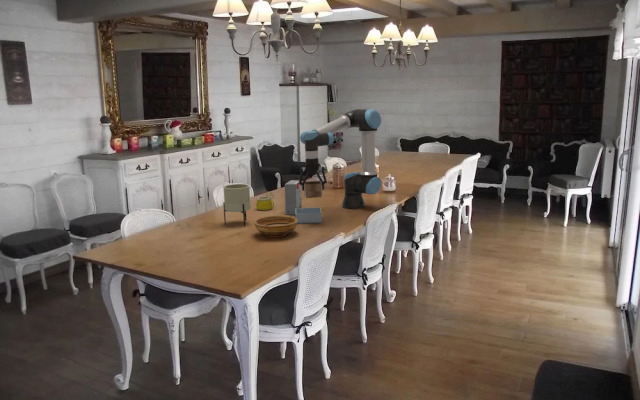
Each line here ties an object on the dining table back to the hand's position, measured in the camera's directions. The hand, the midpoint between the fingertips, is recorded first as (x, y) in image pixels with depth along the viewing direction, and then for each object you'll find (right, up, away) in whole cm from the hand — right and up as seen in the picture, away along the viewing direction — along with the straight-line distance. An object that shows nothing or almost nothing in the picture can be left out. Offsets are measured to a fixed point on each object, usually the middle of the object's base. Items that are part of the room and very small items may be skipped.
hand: (313, 195), depth 316 cm
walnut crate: (0, 0, 0) cm, 0 cm away
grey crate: (-3, -15, +11) cm, 19 cm away
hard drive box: (-13, -11, +33) cm, 37 cm away
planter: (-45, -17, +8) cm, 49 cm away
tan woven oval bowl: (-20, -22, -18) cm, 35 cm away
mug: (-33, -9, +43) cm, 55 cm away
